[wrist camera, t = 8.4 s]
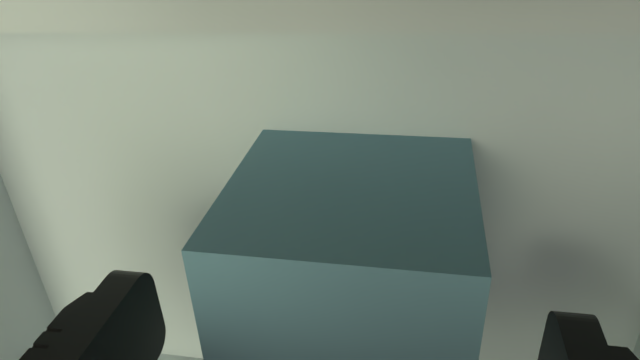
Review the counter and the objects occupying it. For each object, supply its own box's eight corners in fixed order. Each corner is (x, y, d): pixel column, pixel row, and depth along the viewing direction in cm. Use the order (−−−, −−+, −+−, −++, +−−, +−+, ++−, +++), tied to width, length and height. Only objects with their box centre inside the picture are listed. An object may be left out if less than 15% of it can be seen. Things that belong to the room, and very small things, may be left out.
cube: (470, 138, 12) (491, 277, 8) (452, 301, 15) (460, 475, 10) (262, 129, 13) (180, 250, 9) (278, 285, 16) (219, 438, 11)
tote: (812, -79, 10) (1117, -45, 5) (629, 411, 16) (700, 600, 12) (-93, -51, 13) (-345, -16, 9) (61, 343, 20) (-41, 471, 15)
